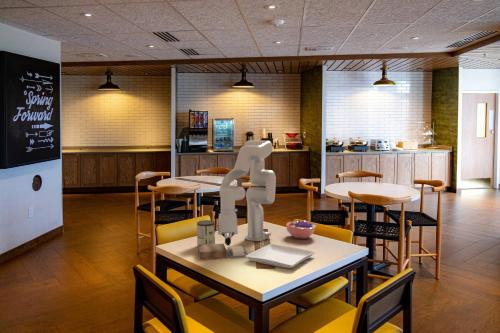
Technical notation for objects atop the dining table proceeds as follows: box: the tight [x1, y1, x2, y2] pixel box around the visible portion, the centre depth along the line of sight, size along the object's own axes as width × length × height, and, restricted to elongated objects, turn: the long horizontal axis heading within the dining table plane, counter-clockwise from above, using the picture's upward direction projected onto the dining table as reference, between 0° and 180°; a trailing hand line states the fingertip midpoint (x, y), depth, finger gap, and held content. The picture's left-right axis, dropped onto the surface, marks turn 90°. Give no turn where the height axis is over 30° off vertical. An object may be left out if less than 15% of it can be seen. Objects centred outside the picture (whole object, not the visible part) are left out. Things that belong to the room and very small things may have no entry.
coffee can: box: [196, 219, 216, 248], centre depth 245 cm, size 10×10×14 cm
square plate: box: [245, 243, 316, 269], centre depth 222 cm, size 27×27×4 cm
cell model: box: [285, 219, 317, 240], centre depth 264 cm, size 17×20×11 cm
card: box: [230, 245, 244, 256], centre depth 231 cm, size 6×9×2 cm, turn 10°
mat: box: [226, 248, 249, 259], centre depth 232 cm, size 11×15×1 cm
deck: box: [197, 243, 228, 261], centre depth 229 cm, size 14×14×4 cm
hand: (227, 244), depth 230 cm, fingers closed
